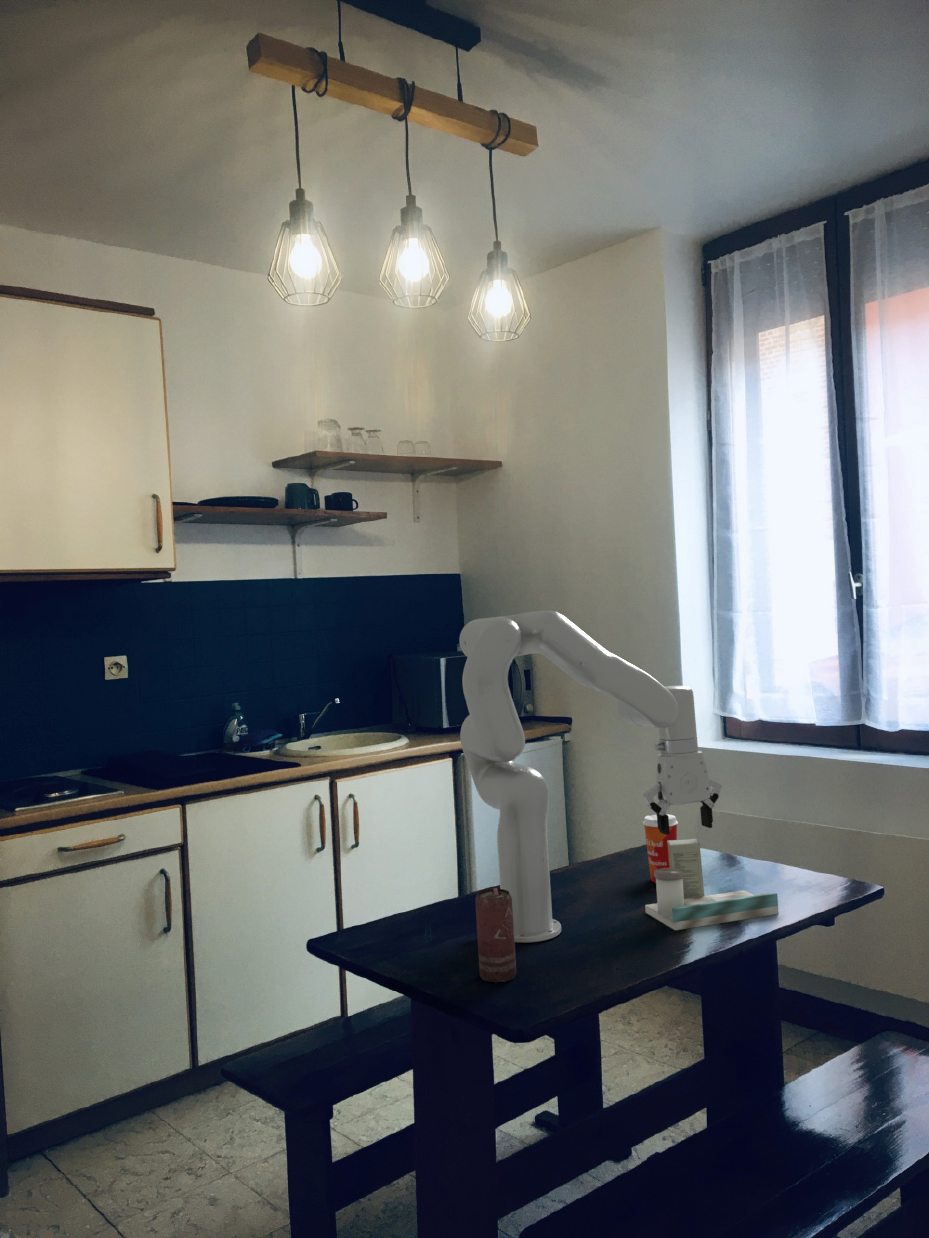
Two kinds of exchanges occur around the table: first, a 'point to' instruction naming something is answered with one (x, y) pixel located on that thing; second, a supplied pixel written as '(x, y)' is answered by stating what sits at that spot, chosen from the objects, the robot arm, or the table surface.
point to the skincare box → (687, 865)
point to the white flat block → (717, 909)
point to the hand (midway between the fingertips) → (685, 830)
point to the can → (495, 935)
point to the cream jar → (669, 890)
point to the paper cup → (658, 843)
